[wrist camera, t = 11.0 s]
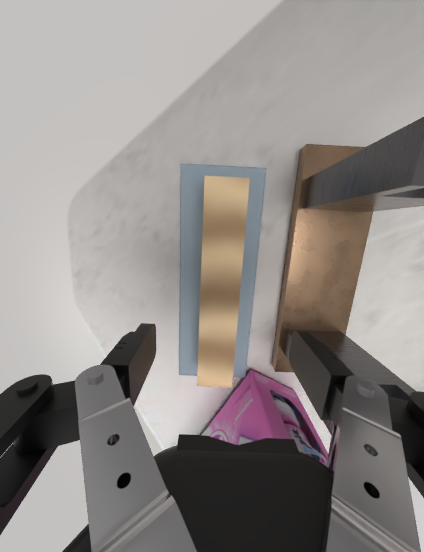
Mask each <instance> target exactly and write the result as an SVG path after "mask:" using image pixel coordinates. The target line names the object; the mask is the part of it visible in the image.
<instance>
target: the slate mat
mask: <svg viewBox="0 0 424 552" xmlns="http://www.w3.org/2000/svg"><path fill="white" fill-rule="evenodd" d="M265 175H266V168H255V167H236V166H217V165H198V164H181V220H180V335H179V375H193V376H197V373H198V345H199V317H200V289H201V261H202V234H203V206H204V178H205V176H222V177H241V178H250V183H249V194H248V206H247V218H246V230H245V241H244V253H243V265H242V277H241V288H240V300H239V312H238V323H237V335H236V347H235V359H234V370H233V377H245V374H246V364H247V354H248V345H249V335H250V325H251V315H252V305H253V295H254V285H255V275H256V265H257V255H258V245H259V235H260V225H261V215H262V205H263V195H264V185H265Z"/></svg>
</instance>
